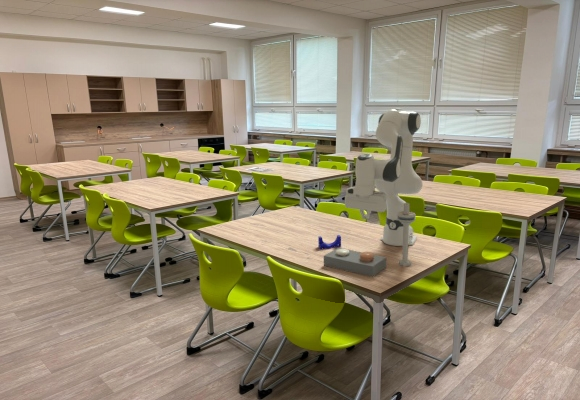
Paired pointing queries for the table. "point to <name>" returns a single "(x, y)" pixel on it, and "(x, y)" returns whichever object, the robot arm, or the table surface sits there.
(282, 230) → the table surface
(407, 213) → the model tower
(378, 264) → the console
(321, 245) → the cable clip
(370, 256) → the terracotta plunger
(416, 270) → the table surface
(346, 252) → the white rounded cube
